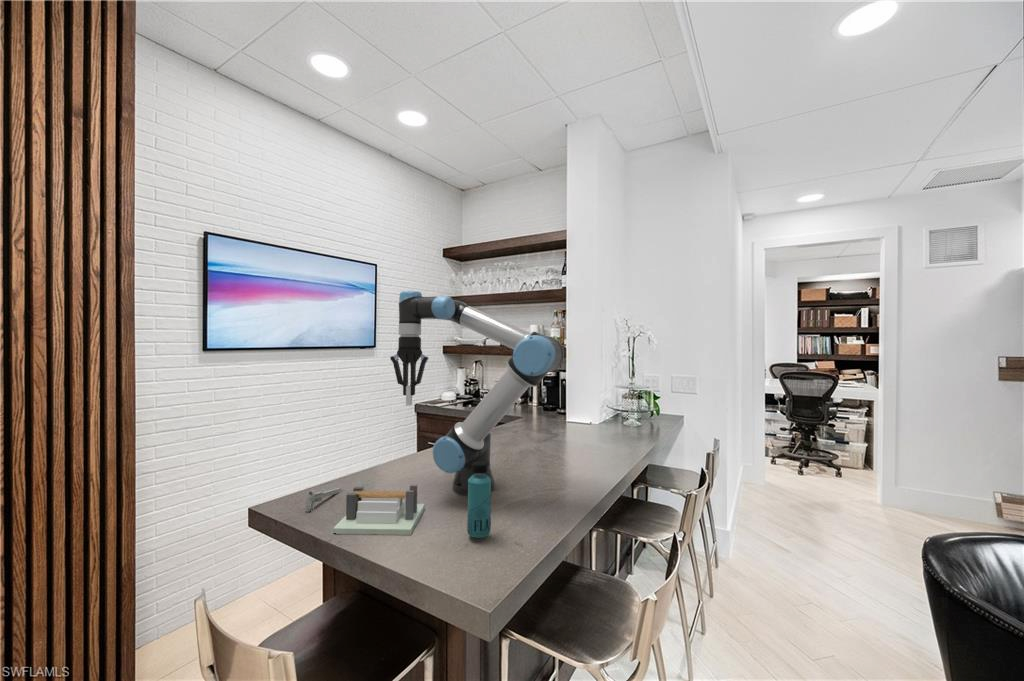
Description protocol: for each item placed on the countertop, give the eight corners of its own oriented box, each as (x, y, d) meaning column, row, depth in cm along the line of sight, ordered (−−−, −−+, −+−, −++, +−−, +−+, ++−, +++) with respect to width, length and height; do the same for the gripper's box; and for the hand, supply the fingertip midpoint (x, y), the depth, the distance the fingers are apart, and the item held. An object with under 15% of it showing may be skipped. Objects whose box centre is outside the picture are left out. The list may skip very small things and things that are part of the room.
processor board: (424, 508, 133) (425, 478, 133) (410, 535, 115) (411, 499, 115) (357, 507, 133) (357, 477, 133) (333, 533, 115) (333, 498, 115)
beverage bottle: (471, 545, 109) (472, 467, 109) (463, 534, 115) (464, 461, 115) (494, 541, 112) (495, 465, 112) (485, 530, 118) (486, 458, 118)
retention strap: (415, 503, 125) (415, 490, 125) (412, 507, 122) (412, 494, 122) (355, 502, 125) (355, 489, 125) (351, 506, 122) (351, 493, 122)
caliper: (309, 513, 128) (309, 493, 128) (305, 513, 128) (306, 492, 128) (343, 490, 149) (344, 472, 149) (340, 490, 149) (341, 472, 149)
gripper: (430, 336, 149) (430, 403, 149) (394, 336, 149) (393, 403, 149) (426, 336, 142) (425, 406, 142) (387, 335, 142) (386, 406, 142)
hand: (408, 404), depth 146 cm, fingers closed
